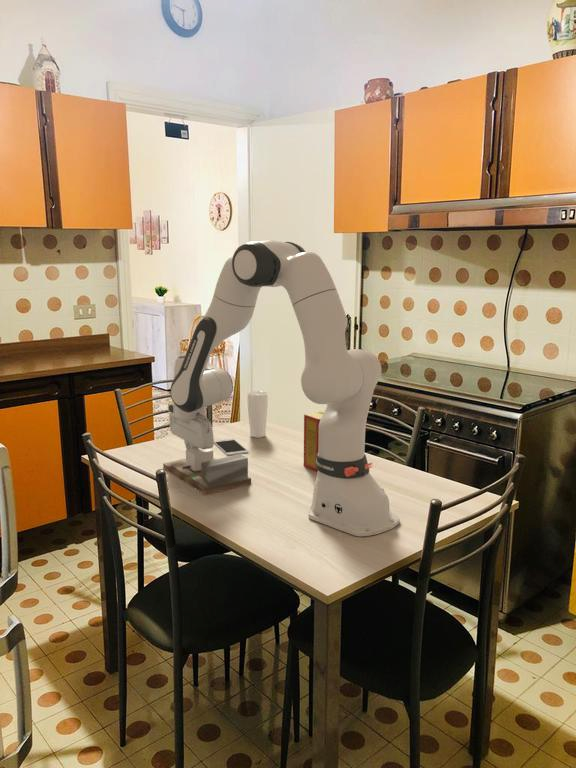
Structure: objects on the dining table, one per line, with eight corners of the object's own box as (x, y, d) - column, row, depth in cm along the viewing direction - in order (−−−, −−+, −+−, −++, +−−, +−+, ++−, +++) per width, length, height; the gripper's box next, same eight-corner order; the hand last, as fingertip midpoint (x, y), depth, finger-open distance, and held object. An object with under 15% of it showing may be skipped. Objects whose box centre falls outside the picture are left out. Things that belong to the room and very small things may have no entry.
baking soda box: (317, 472, 180) (318, 418, 177) (303, 465, 185) (304, 413, 182) (342, 465, 186) (343, 413, 182) (328, 459, 191) (329, 408, 187)
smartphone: (233, 440, 211) (232, 437, 211) (249, 454, 197) (249, 451, 197) (212, 443, 208) (212, 440, 208) (227, 457, 194) (227, 454, 194)
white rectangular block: (213, 467, 179) (213, 450, 178) (186, 473, 174) (186, 456, 173) (204, 462, 183) (204, 446, 182) (178, 468, 178) (178, 451, 177)
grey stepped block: (251, 483, 171) (250, 457, 170) (205, 495, 163) (205, 467, 162) (205, 458, 191) (205, 435, 189) (163, 468, 183) (162, 443, 181)
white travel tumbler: (259, 431, 219) (259, 389, 216) (271, 436, 214) (271, 393, 211) (243, 435, 215) (243, 392, 212) (256, 440, 210) (255, 396, 207)
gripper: (218, 415, 173) (219, 463, 176) (184, 401, 190) (185, 445, 192) (198, 419, 170) (199, 468, 173) (165, 404, 186) (166, 449, 189)
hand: (192, 456), depth 183 cm, fingers closed
